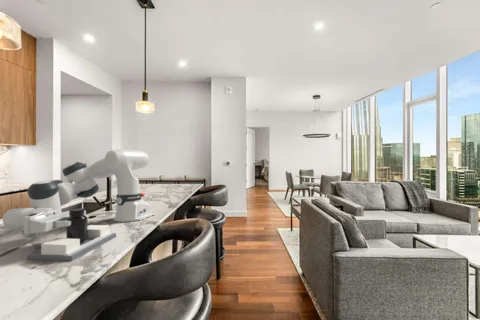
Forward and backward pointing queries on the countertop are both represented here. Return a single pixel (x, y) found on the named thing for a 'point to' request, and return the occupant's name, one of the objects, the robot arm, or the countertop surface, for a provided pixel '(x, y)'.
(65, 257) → the rail panel
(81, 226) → the supplement bottle
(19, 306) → the countertop surface
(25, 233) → the robot arm
